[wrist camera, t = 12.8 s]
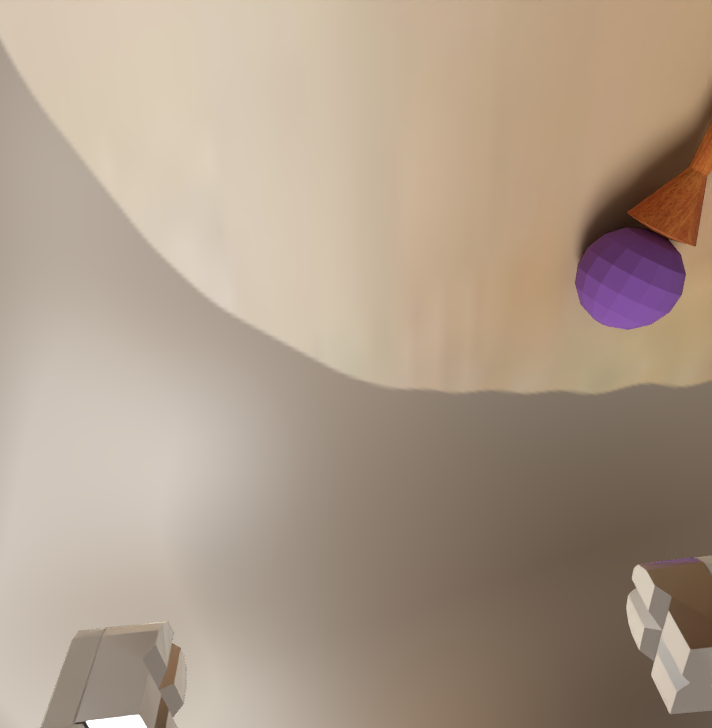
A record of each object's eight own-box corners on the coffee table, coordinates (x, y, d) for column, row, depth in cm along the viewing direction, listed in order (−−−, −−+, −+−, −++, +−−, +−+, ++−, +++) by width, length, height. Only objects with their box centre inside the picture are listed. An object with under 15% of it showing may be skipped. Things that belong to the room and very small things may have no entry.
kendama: (918, 2, 29) (665, 356, 37) (810, -4, 34) (607, 311, 42) (848, -61, 27) (593, 333, 35) (742, -57, 32) (540, 288, 40)
